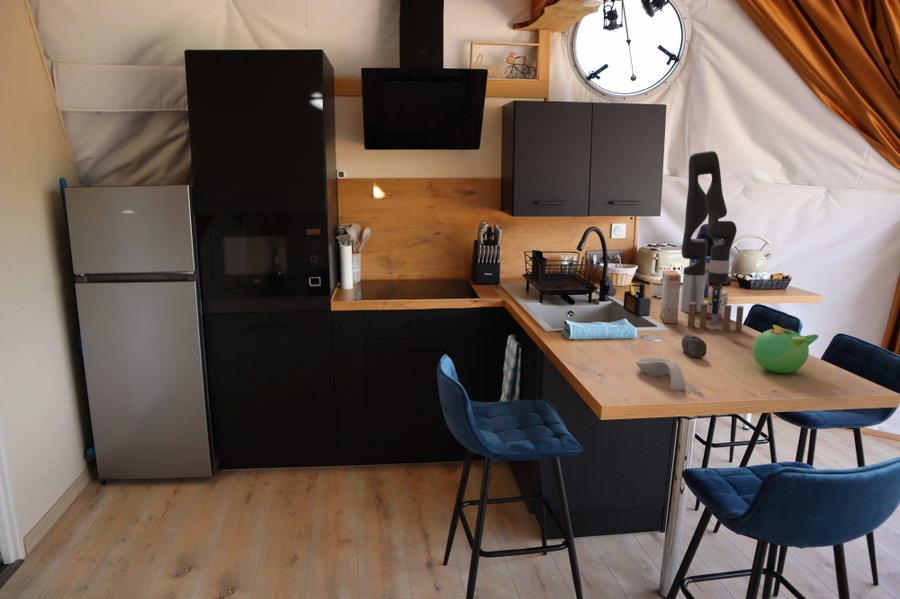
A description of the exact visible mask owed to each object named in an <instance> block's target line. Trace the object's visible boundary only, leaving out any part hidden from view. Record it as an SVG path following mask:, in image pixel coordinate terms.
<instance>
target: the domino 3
mask: <svg viewBox="0 0 900 599" xmlns="http://www.w3.org/2000/svg"><path fill="white" fill-rule="evenodd" d="M717 300H718V299H714V301H717ZM719 302H720V300H719ZM718 313H719V305H718ZM710 320H711V321H710V325H711V326H715V327H716V326H718V323H719V320H718V314H712V318H711V319H710Z"/></svg>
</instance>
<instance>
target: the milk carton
mask: <svg viewBox="0 0 900 599" xmlns="http://www.w3.org/2000/svg"><path fill="white" fill-rule="evenodd" d="M698 261H699V259H689V263H688V266H690V265H693V264H695V263H697V262H698ZM709 263H710V256H707V257H706V266H705V280H704V296H708V297H709V292H710V291H709V290H710V282H708V273H709Z"/></svg>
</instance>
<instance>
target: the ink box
mask: <svg viewBox="0 0 900 599" xmlns="http://www.w3.org/2000/svg"><path fill="white" fill-rule="evenodd" d="M728 297H729V291H725V290H723V291H722V296H721V299H720V302H719V313H718V321H719V320H721V319H724V318H723V317H724V312H725V305H728ZM707 298H708V299H707V303H708V308H707V320H708V319H709V320H711V318H712V305H713V304H712V290H711V291H708V297H707Z"/></svg>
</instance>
